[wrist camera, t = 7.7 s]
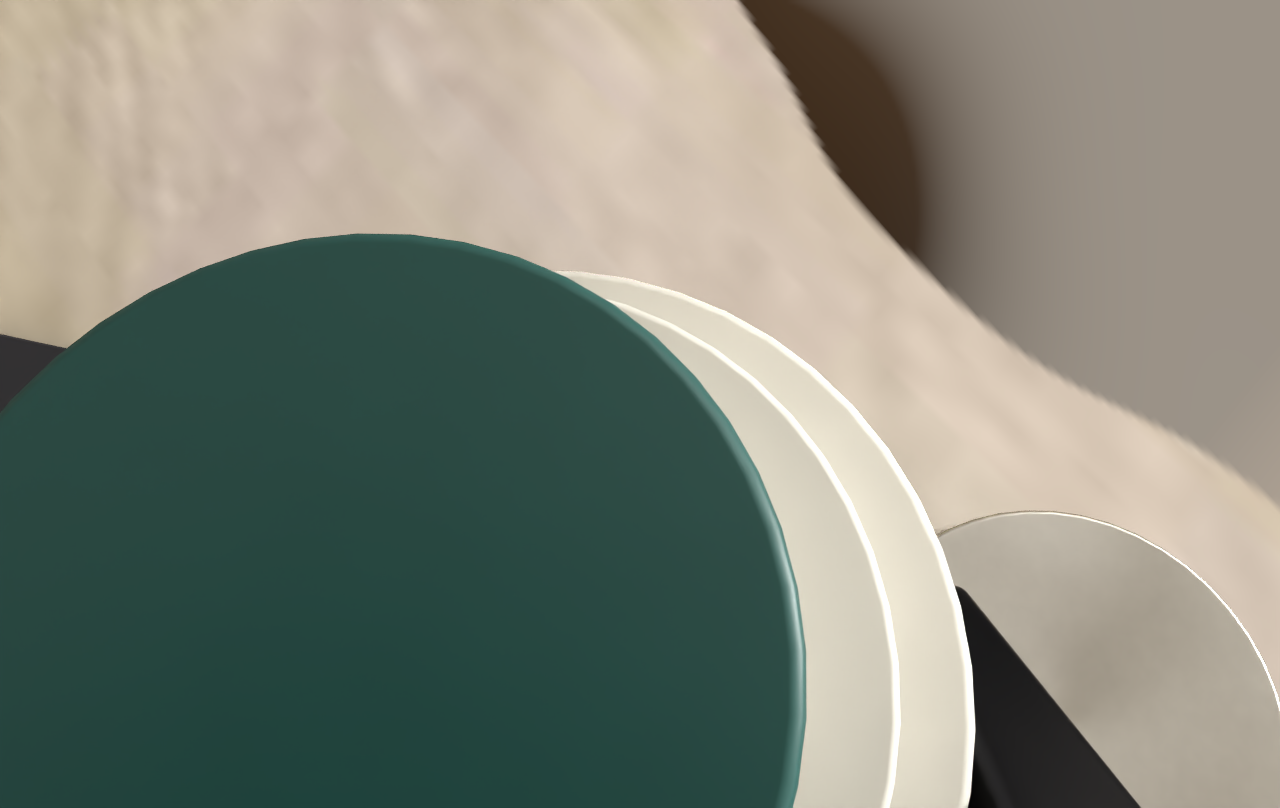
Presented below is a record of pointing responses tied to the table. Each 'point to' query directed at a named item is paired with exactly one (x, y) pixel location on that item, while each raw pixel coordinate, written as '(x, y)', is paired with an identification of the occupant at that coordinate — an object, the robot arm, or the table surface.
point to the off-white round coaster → (1129, 654)
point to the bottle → (461, 554)
